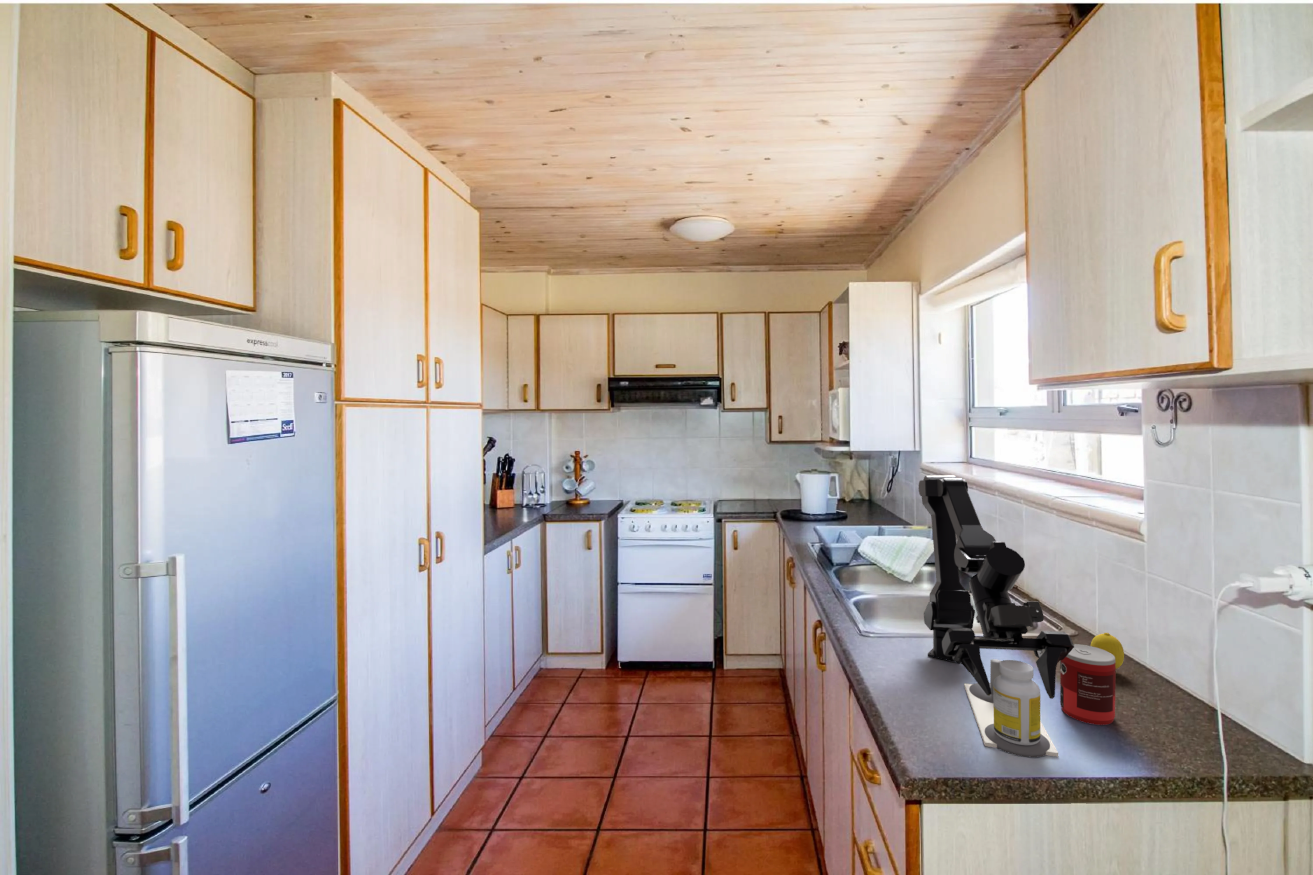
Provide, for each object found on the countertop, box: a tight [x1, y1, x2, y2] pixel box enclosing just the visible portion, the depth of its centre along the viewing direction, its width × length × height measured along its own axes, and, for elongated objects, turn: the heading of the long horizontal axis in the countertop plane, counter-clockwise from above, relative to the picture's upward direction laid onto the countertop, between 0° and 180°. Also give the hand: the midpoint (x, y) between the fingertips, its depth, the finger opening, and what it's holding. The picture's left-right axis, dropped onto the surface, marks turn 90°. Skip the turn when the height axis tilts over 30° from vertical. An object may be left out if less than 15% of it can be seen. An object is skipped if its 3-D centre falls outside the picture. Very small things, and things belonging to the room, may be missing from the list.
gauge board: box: [963, 658, 1059, 758], centre depth 104 cm, size 25×10×7 cm, turn 160°
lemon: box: [1089, 632, 1125, 670], centre depth 121 cm, size 6×6×8 cm
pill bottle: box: [993, 659, 1041, 745], centre depth 96 cm, size 6×6×12 cm
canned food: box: [1059, 643, 1117, 726], centre depth 104 cm, size 8×8×11 cm
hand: (1020, 696), depth 95 cm, fingers open, 9 cm apart
